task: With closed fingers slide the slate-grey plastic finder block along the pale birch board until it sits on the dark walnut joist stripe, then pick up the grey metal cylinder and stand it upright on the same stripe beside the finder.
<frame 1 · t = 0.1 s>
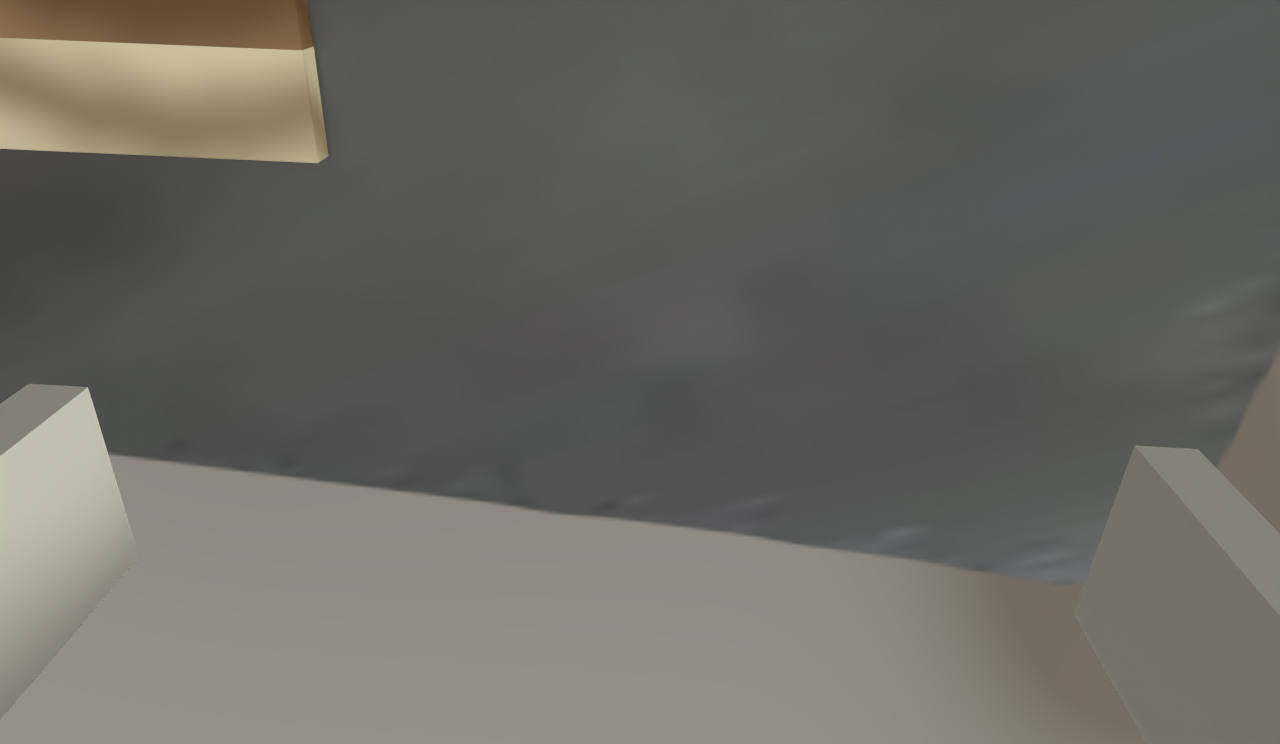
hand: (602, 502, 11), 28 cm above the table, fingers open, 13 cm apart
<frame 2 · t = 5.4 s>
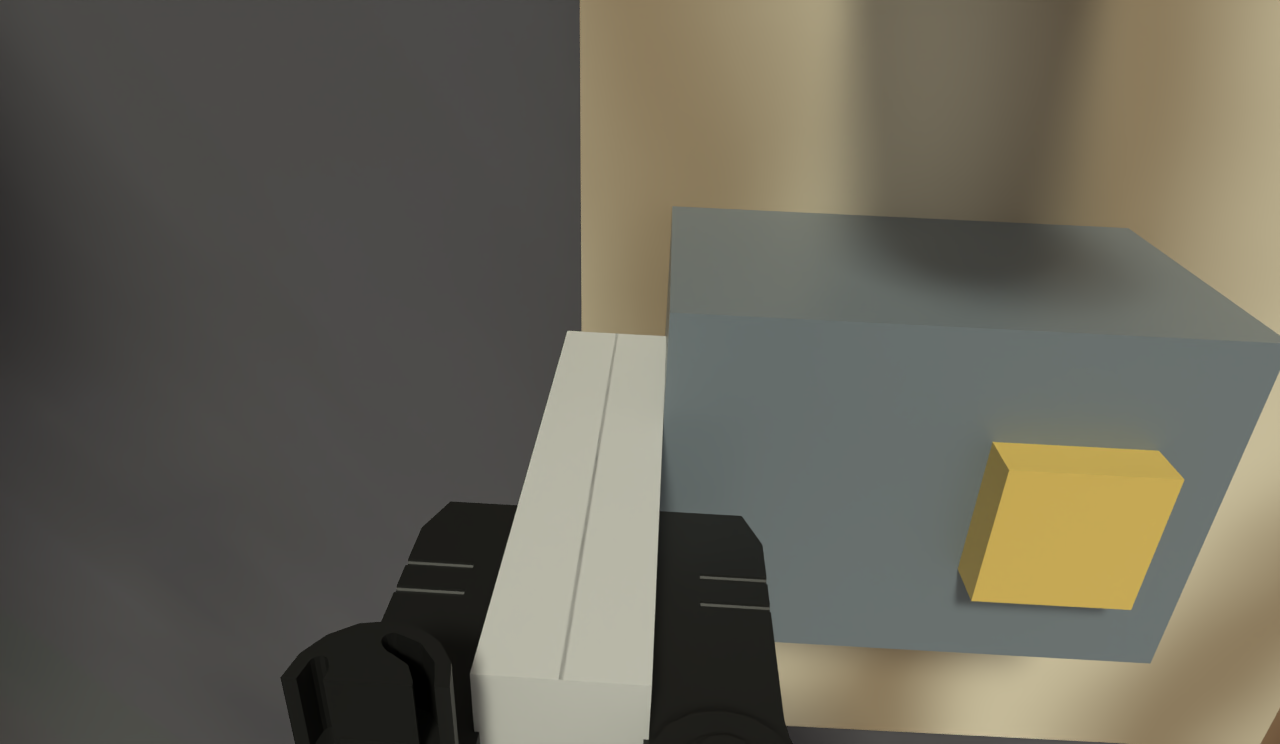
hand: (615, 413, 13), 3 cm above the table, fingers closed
board: (1239, 394, 16), on the table
finder: (872, 360, 14), point 1 cm above the table
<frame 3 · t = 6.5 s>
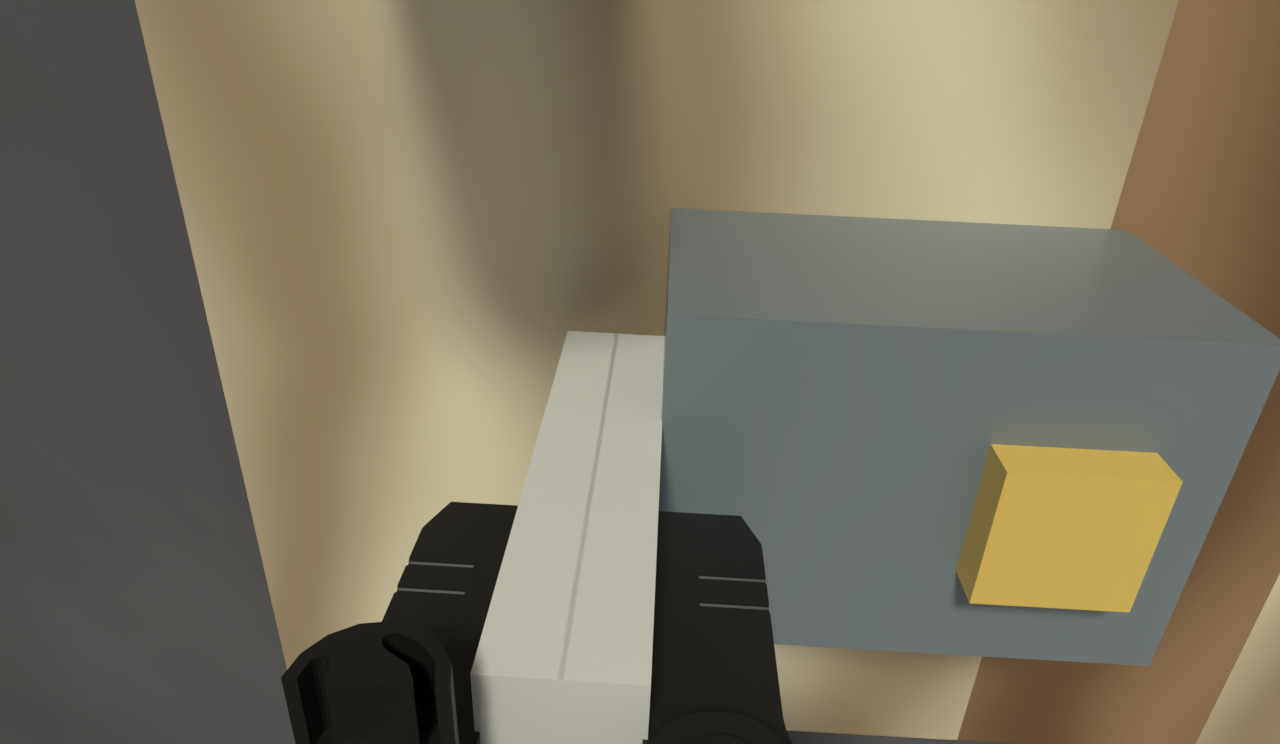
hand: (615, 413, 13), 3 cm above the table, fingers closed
board: (891, 384, 16), on the table
finder: (871, 362, 14), point 1 cm above the table, touching board, gripper
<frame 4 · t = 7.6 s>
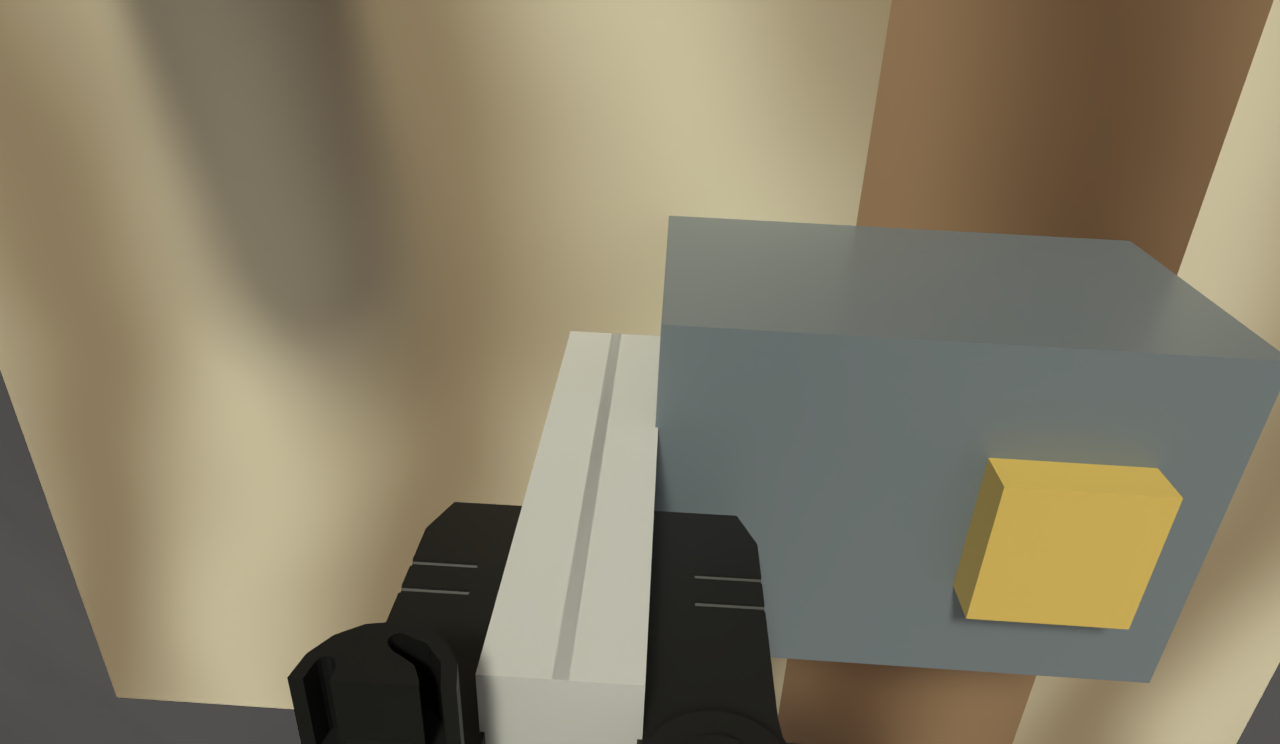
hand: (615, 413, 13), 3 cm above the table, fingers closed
board: (680, 385, 16), on the table
finder: (870, 372, 14), point 1 cm above the table, touching board, gripper
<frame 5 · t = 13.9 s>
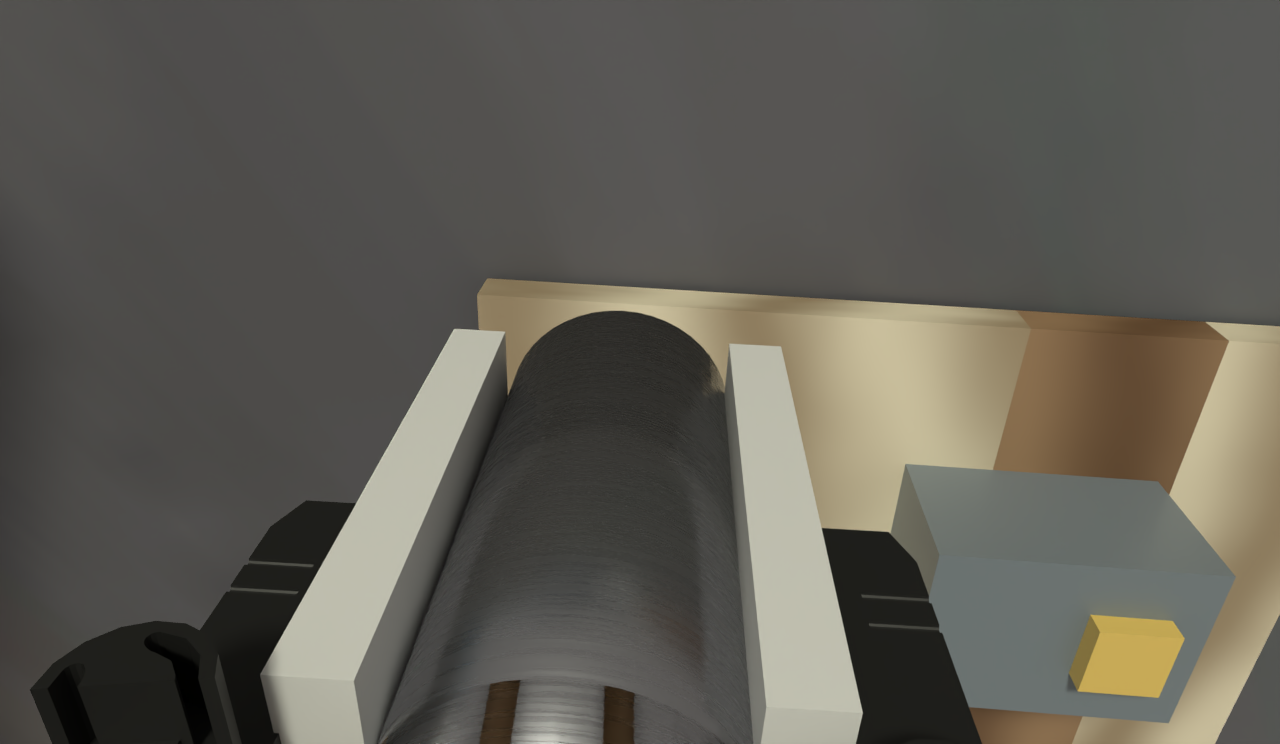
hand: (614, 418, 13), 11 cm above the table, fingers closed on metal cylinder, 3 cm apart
metal cylinder: (618, 410, 14), point 10 cm above the table, touching gripper
board: (875, 539, 27), on the table
finder: (1009, 543, 25), point 1 cm above the table, touching board
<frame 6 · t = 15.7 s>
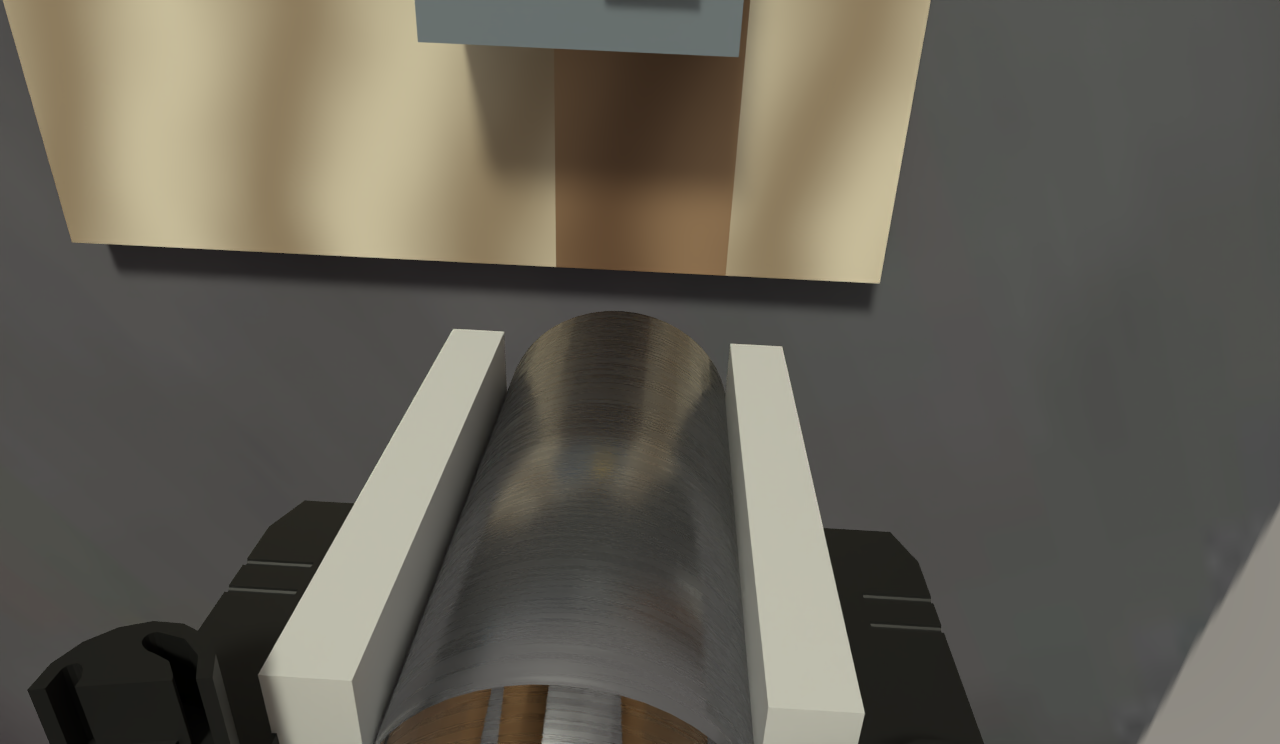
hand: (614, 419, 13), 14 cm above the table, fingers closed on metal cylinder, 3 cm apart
metal cylinder: (617, 411, 13), point 13 cm above the table, touching gripper
when the fingers open (2 cm above the table, at t = 18.0 s): metal cylinder stays where it is, resting on board.
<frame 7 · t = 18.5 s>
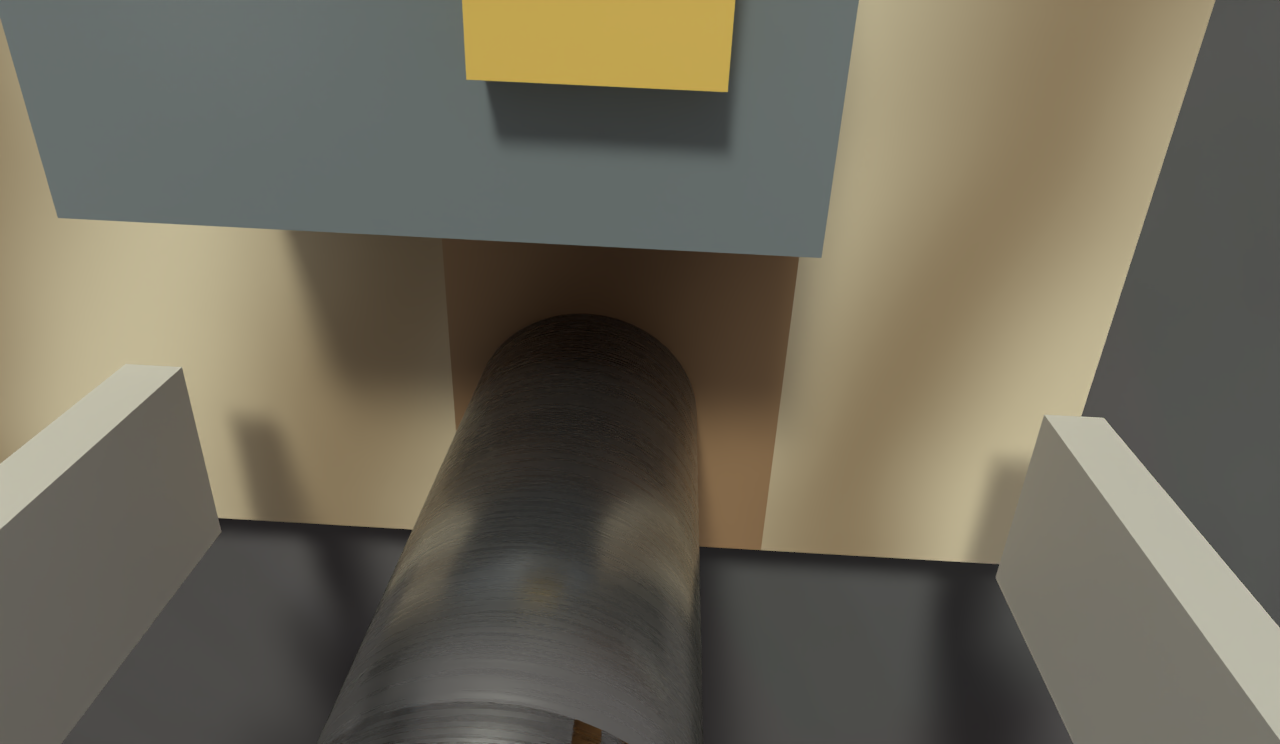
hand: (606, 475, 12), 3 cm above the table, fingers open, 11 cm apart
metal cylinder: (586, 414, 13), point 1 cm above the table, touching board
board: (269, 5, 12), on the table
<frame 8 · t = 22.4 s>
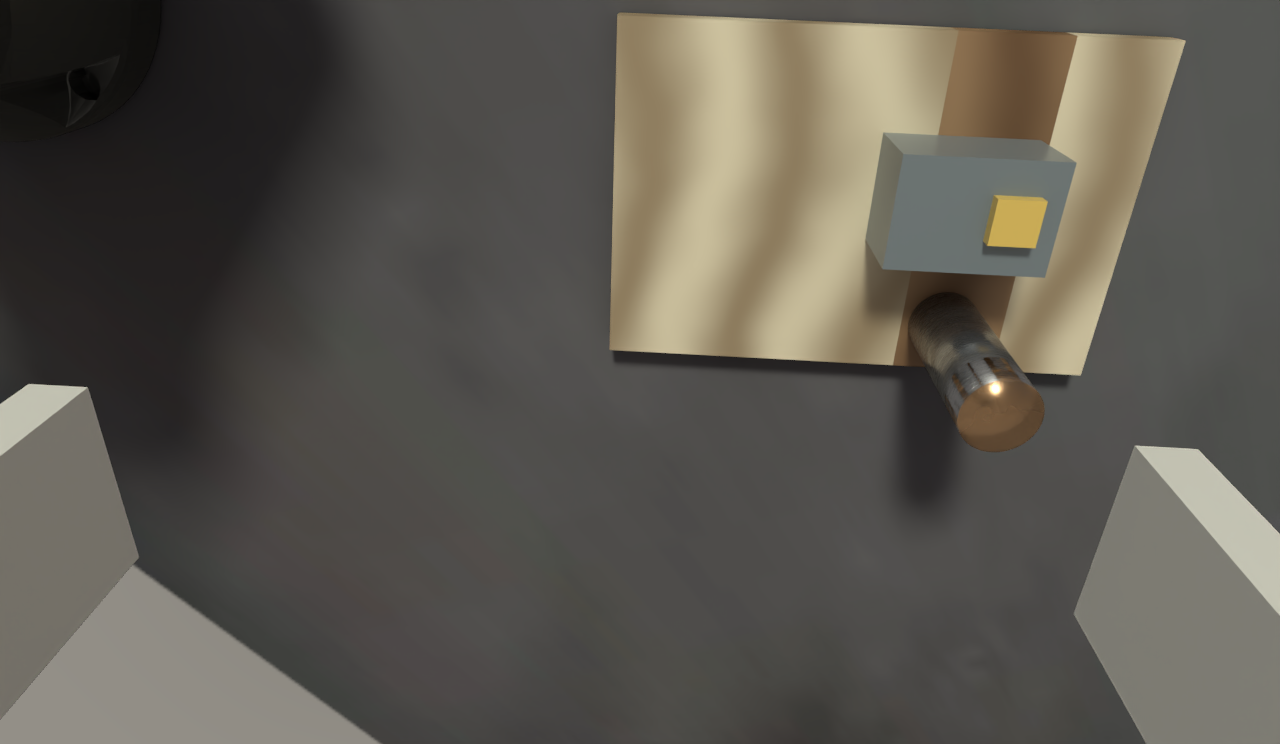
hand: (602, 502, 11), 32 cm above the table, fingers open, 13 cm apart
metal cylinder: (942, 323, 43), point 1 cm above the table, touching board
board: (864, 203, 41), on the table
finder: (950, 191, 40), point 1 cm above the table, touching board
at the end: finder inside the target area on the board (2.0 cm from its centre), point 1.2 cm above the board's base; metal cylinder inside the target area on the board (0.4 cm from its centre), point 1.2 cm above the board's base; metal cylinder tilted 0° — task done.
